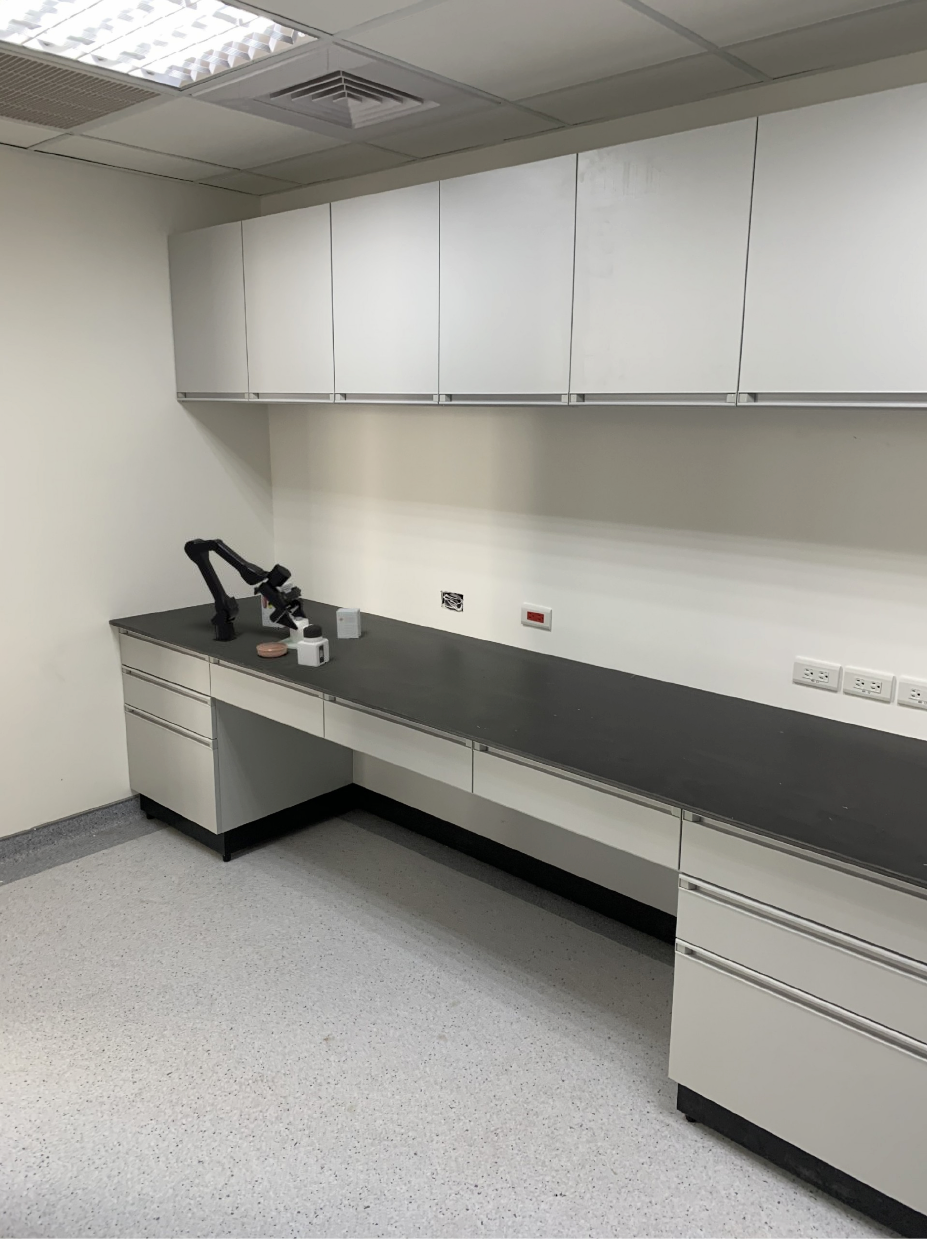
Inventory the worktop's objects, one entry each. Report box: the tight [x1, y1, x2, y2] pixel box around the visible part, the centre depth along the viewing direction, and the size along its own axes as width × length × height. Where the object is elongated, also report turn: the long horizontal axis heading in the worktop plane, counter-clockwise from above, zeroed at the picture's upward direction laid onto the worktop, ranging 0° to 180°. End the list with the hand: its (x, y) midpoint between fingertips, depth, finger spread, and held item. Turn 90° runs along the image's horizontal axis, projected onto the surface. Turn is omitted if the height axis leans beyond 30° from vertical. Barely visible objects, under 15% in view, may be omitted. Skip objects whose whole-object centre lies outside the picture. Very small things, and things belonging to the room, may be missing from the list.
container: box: [296, 623, 330, 668], centre depth 298 cm, size 8×8×13 cm
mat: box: [278, 636, 327, 650], centre depth 324 cm, size 14×14×1 cm
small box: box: [335, 607, 362, 639], centre depth 331 cm, size 8×6×10 cm
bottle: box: [289, 617, 310, 644], centre depth 323 cm, size 7×7×9 cm
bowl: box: [256, 641, 288, 658], centre depth 310 cm, size 11×11×3 cm
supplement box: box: [260, 581, 295, 629], centre depth 350 cm, size 10×9×17 cm
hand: (302, 626), depth 322 cm, fingers open, 9 cm apart
